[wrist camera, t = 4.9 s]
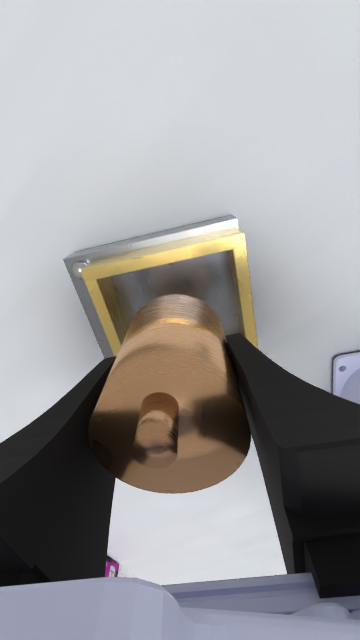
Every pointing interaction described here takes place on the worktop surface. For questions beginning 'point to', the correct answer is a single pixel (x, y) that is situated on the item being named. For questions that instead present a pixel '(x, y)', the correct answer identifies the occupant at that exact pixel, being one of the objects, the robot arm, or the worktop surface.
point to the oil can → (171, 402)
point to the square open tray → (165, 277)
